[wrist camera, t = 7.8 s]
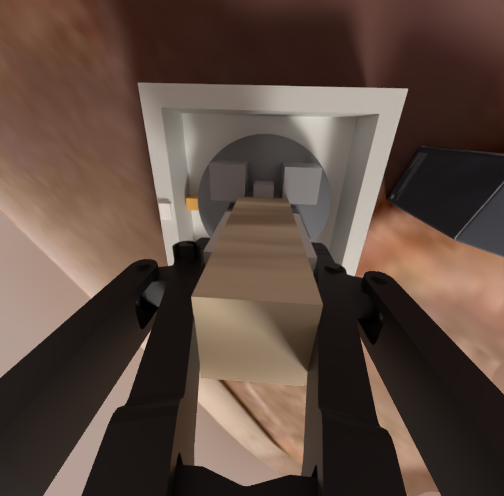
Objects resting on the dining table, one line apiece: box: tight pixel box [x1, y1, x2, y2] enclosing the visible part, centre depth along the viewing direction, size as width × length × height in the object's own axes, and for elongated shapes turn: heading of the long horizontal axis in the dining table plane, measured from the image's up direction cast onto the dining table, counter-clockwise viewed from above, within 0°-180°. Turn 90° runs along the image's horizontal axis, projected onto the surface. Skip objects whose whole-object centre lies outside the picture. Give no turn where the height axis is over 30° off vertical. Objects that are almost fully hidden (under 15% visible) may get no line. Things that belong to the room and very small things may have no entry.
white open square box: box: [138, 83, 408, 276], centre depth 23 cm, size 19×19×7 cm
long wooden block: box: [191, 179, 323, 386], centre depth 14 cm, size 6×6×15 cm
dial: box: [186, 134, 331, 242], centre depth 21 cm, size 13×14×6 cm
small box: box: [387, 145, 504, 257], centre depth 19 cm, size 11×6×10 cm, turn 72°
